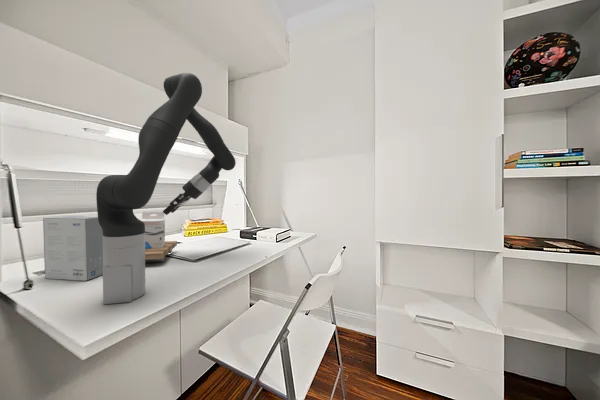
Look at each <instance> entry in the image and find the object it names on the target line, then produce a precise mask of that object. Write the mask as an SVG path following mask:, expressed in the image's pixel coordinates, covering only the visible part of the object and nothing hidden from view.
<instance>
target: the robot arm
mask: <svg viewBox="0 0 600 400" xmlns="http://www.w3.org/2000/svg"><path fill="white" fill-rule="evenodd" d="M163 90H164V92H165V95H166V96H167V98H168V100H167V101H166V102H165V103H163V104H162V105H160V107H158V108H157V109H156V110H154V111H153V112H152V113H151V114H150V115H149V116H148V118H147V119H146V120H145V123H144V124H143V126H142V127H141V129H140V130H139V133H138V138H137V139H138V140H137V141H138V149H139V150H138V151H139V155H138V158H137V159H136V162H135V163H134V165H133V166H132V168H131V170H129V172H128V173H127V174H110V175H107V176H104V177H103V178H102V179H101V180H100V181H99V182H98V185H97V187H96V193H95V194H96V196H95V198H96V210H97V211H96V213H97V216H98V222H99V225H100V227H101V228H102V232H103V275H102V296H103V297H102V301H103V302H102V303H103V305H110V304H112V305H113V304H120V303H121V304H123V303H131V302H132V301H134V300H136V299H138V298H140V297H143V296H144V295H145V293H146V291H147V290H146V263H145V224H144V223H143V222H142V221H141V220H142V219H139V218H137V216H136V215H135V213H134V210H138V209H142V208H143V207H145V206H146V205H147V204H148V203H149V201H151V198H152V196H153V194H154V190H155V188H156V186H157V183H158V179H159V177H160V174H161V173H162V169H163V167H164V165H165V163H166V161H167V158H168V156H169V154H170V152H171V150H172V149H173V147H174V145H175V143H176V141H177V139H178V137H179V135H180V132H181V130H182V128H183V127H184V125H185V124H186V121H187V122H188V123H189V124H190V125H191V126H192V127H193V129H195V131H196V132H197V133H198V135H199V137H200V138H201V139H202V141H203V143H204V145H205V146H206V147H207V149H208V151H209V152H211V153H212V158H210V160H209V161H208V164H206V166H205V167H204V168H202V169H201V170H200V171H199V172H198V173H197V174H195V175H194V176H193V177H192V178H191V179H189V180H188V181H187V182H186V183H185V184H184V185H183V186H182V187H181V188H182V190H183V191H184V192H183V193H179V194H178V195H177V197H175V198H173V200H172V201H171V202H169V205H168V206H166V207H165V208H164V209H163V210H162V212H163V213H164V215H166V216H168V215H169V214H170V213H172V214H174V213H175V212H176V211H177V210H178V209H179V208H181V207H183V206H184V205H186V203H188V202H189V201H190V199H191V198H192V199H194V200H196V199H198V198H199V197H200V196H202V194H203V193H205V192H206V191H207V190H208V189H209V188H210V187H211V185H212V184H213V183H215V182H216V180H218V179H219V177H220V172H221V170H225V171H232V170H233V169H234V168H235V167H236V162H237V161H236V158H235V156H234V155H233V154H232V152H231V150H230V149H229V148H228V147H227V144H225V142H224V140H223V138H222V136H221V135H220V133H219V131H218V129H217V128H216V127H215V125H213V123H212V122H210V121H209V120H208V119H206V118H205V117H204V116H202V114H200V113H199V111H198V110H196V108H195V106H196V105H197V104H198V103H199V101H200V99H201V98H202V94H203V86H202V83H201V80H200V79H199V77H198V76H196V75H195V74H193V73H191V72H182V73H178V74H174V75H171V76H169V77H165V79H164V81H163Z"/></svg>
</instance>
